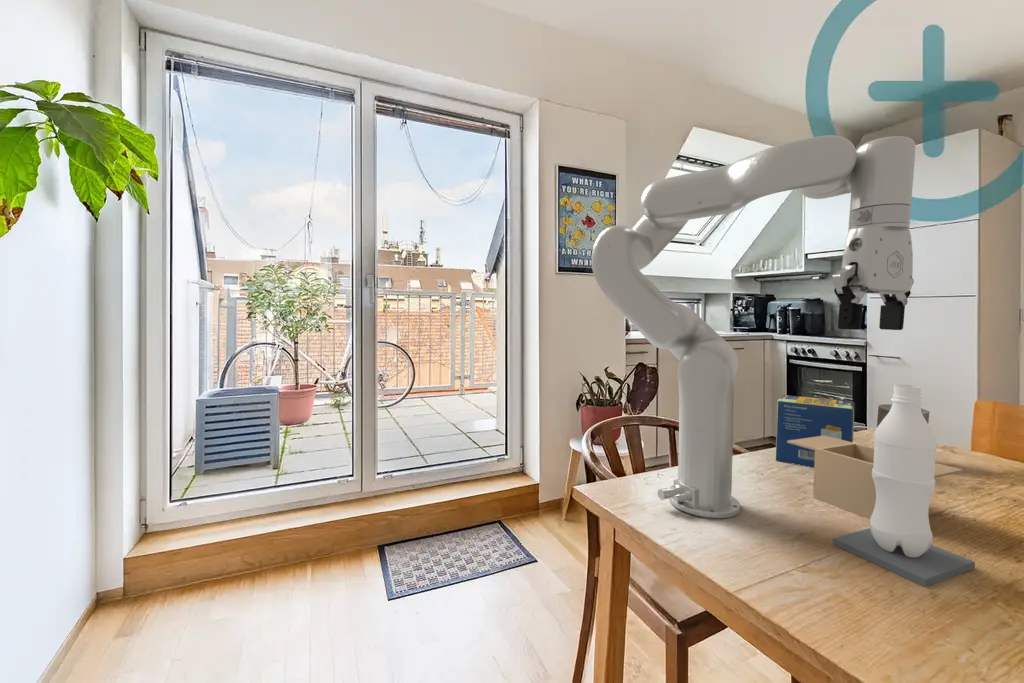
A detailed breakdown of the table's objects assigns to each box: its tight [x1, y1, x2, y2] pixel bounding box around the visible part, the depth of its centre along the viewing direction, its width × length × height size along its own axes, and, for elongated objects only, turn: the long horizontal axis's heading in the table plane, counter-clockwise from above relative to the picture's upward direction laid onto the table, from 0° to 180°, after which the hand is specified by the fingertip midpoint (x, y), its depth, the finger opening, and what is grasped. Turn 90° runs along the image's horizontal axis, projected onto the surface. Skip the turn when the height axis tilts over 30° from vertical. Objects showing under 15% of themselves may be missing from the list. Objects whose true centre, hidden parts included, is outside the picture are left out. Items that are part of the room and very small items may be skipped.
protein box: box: [774, 394, 855, 468], centre depth 111 cm, size 10×15×16 cm
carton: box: [787, 436, 964, 520], centre depth 86 cm, size 12×24×10 cm, turn 21°
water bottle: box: [869, 384, 938, 558], centre depth 67 cm, size 7×7×25 cm
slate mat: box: [832, 527, 976, 587], centre depth 68 cm, size 12×12×1 cm
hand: (870, 329), depth 72 cm, fingers open, 9 cm apart
